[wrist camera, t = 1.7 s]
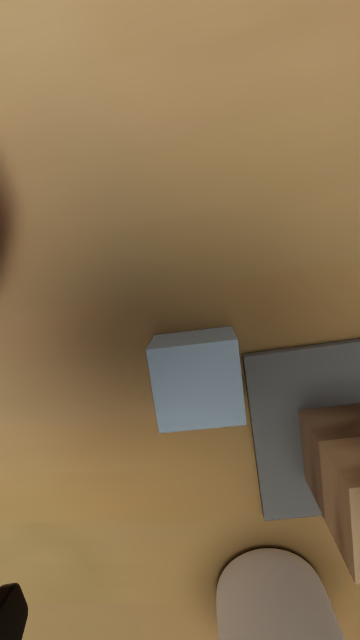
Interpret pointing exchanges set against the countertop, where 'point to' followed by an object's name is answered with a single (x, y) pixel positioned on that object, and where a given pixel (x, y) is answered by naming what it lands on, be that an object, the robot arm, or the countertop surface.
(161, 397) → the pale grey cube
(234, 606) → the pill bottle
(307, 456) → the tower base
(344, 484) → the tower top
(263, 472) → the mat
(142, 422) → the countertop surface
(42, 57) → the countertop surface
